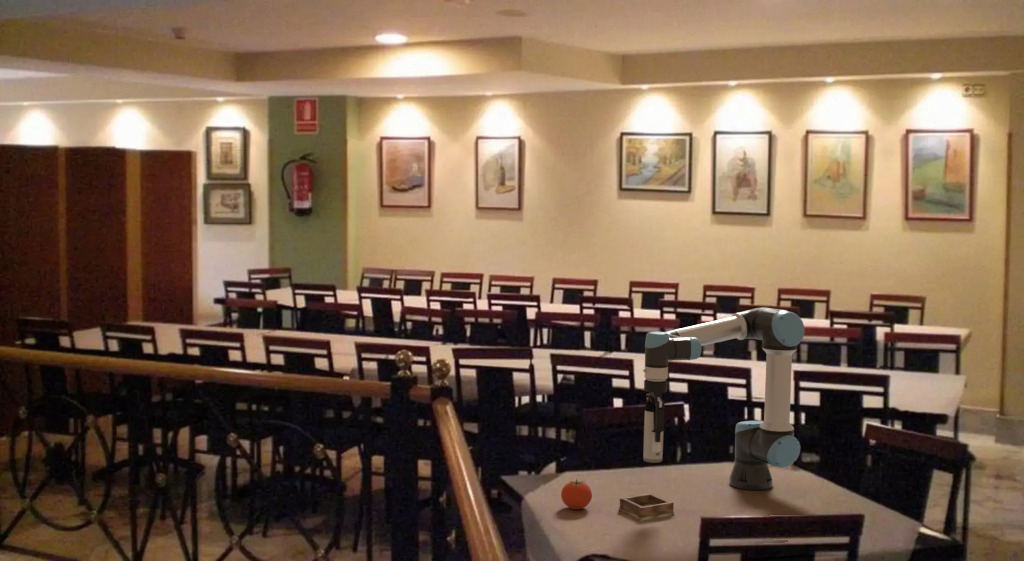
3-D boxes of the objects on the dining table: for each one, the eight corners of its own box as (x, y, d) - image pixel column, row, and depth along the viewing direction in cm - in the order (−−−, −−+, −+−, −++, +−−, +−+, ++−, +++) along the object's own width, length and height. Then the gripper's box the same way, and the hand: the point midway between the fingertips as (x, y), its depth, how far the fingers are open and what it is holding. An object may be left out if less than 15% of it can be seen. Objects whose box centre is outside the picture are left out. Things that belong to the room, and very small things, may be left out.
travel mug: (662, 463, 339) (664, 402, 338) (642, 462, 341) (644, 401, 339) (664, 459, 345) (665, 399, 344) (644, 457, 347) (645, 398, 345)
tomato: (555, 506, 350) (556, 477, 349) (583, 502, 354) (583, 473, 353) (569, 514, 340) (569, 484, 340) (597, 511, 344) (597, 481, 344)
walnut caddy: (651, 504, 352) (651, 492, 352) (674, 515, 340) (674, 502, 340) (618, 509, 346) (618, 498, 346) (641, 520, 334) (641, 508, 334)
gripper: (637, 374, 350) (635, 442, 352) (652, 384, 331) (650, 456, 333) (659, 374, 351) (656, 442, 353) (675, 384, 332) (673, 455, 334)
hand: (653, 448), depth 343 cm, fingers closed on travel mug, 6 cm apart
